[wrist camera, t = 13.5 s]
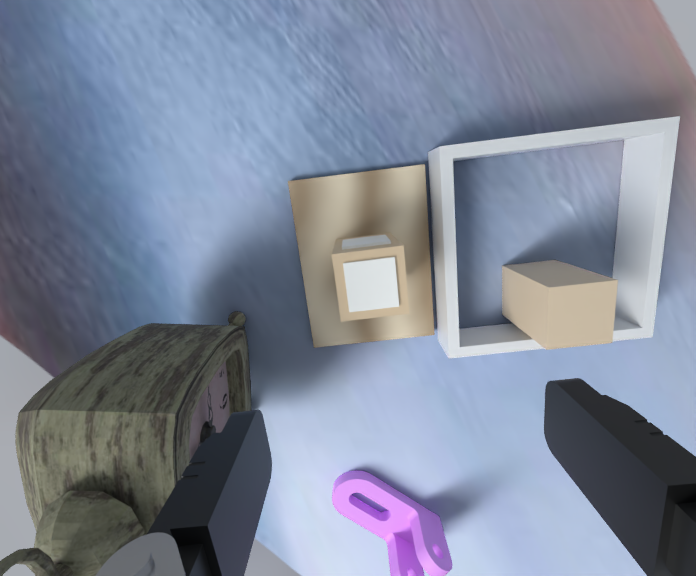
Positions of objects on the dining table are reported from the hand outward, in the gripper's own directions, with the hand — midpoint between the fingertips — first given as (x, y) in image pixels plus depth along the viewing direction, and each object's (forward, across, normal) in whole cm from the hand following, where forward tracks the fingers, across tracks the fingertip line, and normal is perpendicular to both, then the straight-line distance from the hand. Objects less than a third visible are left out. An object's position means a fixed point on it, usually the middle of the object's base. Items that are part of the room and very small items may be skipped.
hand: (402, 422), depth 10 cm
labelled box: (+23, 0, 0) cm, 23 cm away
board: (+24, 0, 0) cm, 24 cm away
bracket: (+24, +1, +29) cm, 38 cm away
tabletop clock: (+24, +16, +9) cm, 31 cm away
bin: (+24, -16, 0) cm, 29 cm away
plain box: (+24, -16, +4) cm, 29 cm away
